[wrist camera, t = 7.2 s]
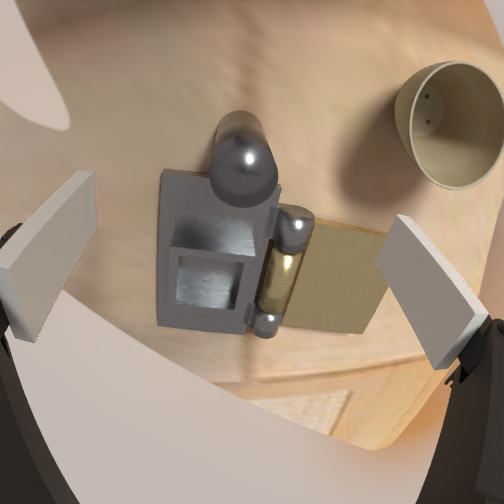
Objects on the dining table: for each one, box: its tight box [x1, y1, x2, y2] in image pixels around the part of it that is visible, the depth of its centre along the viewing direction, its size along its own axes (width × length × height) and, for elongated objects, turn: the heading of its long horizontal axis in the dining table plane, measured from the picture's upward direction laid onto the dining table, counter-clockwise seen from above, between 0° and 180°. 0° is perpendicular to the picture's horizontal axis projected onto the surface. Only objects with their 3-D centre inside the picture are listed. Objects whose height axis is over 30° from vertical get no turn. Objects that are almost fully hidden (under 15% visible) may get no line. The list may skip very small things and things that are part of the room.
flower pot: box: [395, 61, 504, 190], centre depth 21 cm, size 10×10×7 cm
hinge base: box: [158, 169, 315, 339], centre depth 31 cm, size 18×13×4 cm
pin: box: [210, 111, 278, 208], centre depth 21 cm, size 4×4×10 cm
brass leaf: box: [258, 218, 389, 334], centre depth 32 cm, size 13×13×3 cm
